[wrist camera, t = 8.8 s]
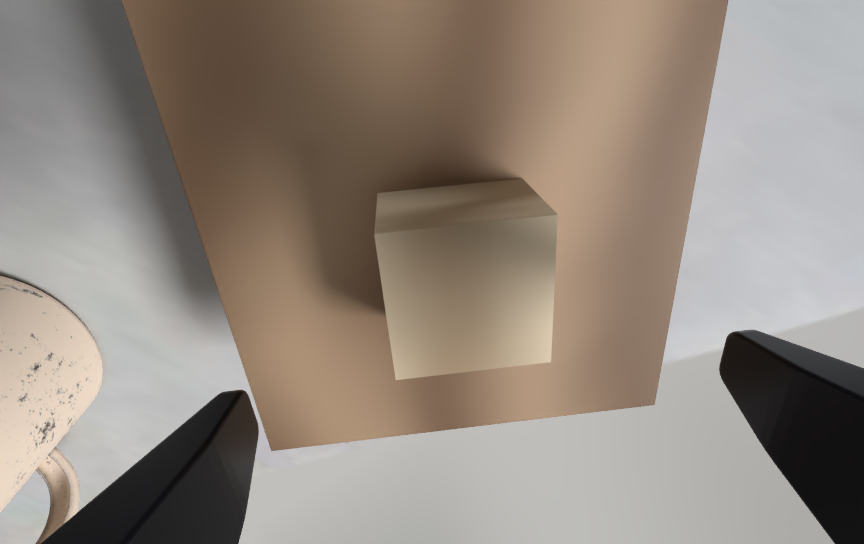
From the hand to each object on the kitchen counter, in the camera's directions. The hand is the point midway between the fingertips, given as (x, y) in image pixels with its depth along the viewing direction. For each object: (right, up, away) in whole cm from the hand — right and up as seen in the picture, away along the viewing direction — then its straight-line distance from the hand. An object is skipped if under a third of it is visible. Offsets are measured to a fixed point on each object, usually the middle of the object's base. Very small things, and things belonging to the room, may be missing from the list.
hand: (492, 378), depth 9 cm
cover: (-1, +3, +6) cm, 6 cm away
